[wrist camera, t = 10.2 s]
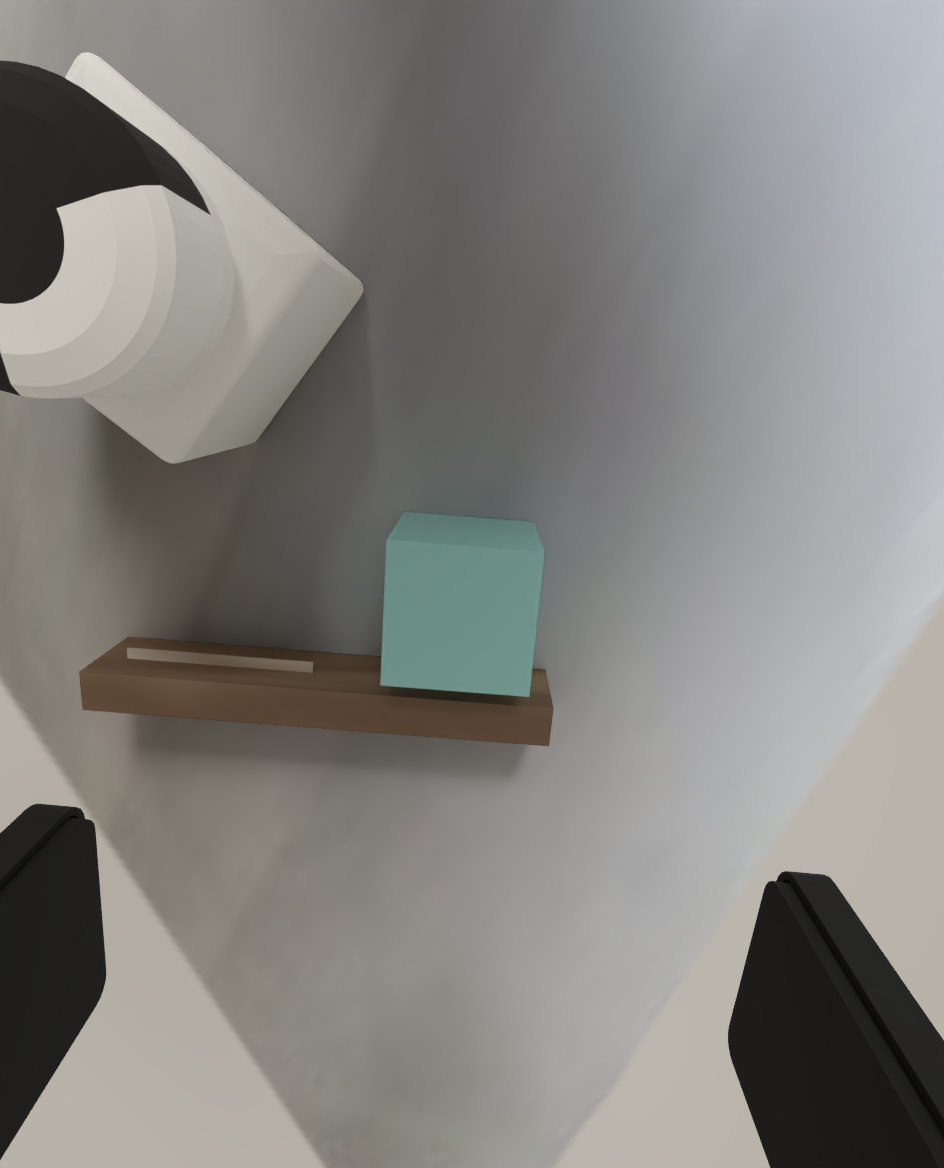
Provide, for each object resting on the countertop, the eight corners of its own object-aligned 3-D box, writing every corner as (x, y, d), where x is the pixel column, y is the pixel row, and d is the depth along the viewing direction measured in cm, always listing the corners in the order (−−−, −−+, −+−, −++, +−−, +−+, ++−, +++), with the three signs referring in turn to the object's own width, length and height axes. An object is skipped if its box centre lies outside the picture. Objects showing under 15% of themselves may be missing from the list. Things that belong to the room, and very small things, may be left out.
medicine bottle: (90, 317, 25) (-260, 259, 13) (199, 141, 23) (-90, -103, 11) (254, 447, 26) (67, 499, 14) (369, 288, 24) (263, 202, 13)
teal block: (404, 511, 26) (386, 539, 22) (533, 521, 26) (545, 552, 22) (398, 633, 28) (380, 685, 23) (521, 642, 28) (529, 696, 23)
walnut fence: (127, 627, 28) (78, 661, 24) (546, 660, 28) (554, 698, 24) (130, 671, 28) (82, 709, 25) (541, 703, 28) (548, 746, 25)
